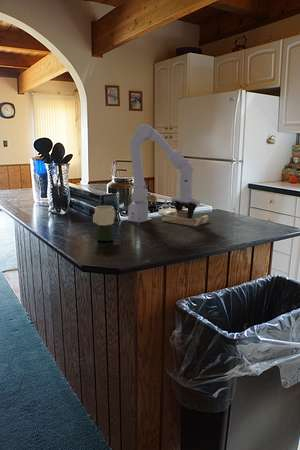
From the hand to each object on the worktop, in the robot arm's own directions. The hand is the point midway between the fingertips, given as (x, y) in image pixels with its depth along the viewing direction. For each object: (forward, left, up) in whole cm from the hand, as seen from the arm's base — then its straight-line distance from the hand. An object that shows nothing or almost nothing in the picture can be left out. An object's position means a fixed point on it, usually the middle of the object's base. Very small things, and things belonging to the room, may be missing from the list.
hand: (185, 218), depth 176 cm
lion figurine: (+18, +38, -2) cm, 42 cm away
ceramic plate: (+11, +15, -1) cm, 19 cm away
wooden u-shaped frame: (0, 0, -1) cm, 1 cm away
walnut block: (0, 0, -1) cm, 1 cm away
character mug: (-47, +6, -2) cm, 47 cm away
